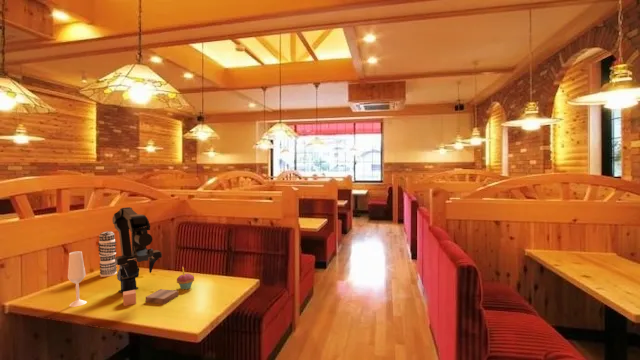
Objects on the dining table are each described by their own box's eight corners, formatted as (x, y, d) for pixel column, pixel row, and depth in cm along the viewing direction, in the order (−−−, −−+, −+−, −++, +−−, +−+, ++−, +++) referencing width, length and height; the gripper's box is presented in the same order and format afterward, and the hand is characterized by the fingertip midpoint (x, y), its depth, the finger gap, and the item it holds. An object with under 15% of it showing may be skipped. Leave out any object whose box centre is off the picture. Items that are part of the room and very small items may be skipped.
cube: (123, 306, 152) (123, 295, 152) (123, 302, 157) (123, 291, 156) (136, 303, 155) (135, 293, 155) (135, 300, 159) (135, 289, 159)
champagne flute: (76, 300, 159) (74, 250, 158) (90, 300, 159) (88, 250, 158) (65, 306, 152) (62, 254, 151) (79, 306, 152) (77, 254, 151)
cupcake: (188, 291, 169) (187, 268, 168) (173, 290, 171) (172, 267, 170) (197, 285, 177) (197, 263, 177) (183, 284, 179) (182, 262, 178)
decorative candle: (103, 277, 191) (102, 234, 190) (96, 275, 196) (94, 232, 195) (120, 273, 199) (118, 231, 198) (112, 270, 204) (111, 230, 203)
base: (145, 302, 156) (145, 297, 156) (160, 294, 166) (160, 289, 166) (164, 304, 154) (164, 298, 154) (178, 295, 163) (178, 290, 163)
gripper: (119, 249, 144) (120, 284, 145) (165, 242, 157) (166, 275, 158) (114, 244, 153) (115, 278, 154) (157, 238, 165) (158, 269, 166)
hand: (139, 275), depth 157 cm, fingers open, 9 cm apart
